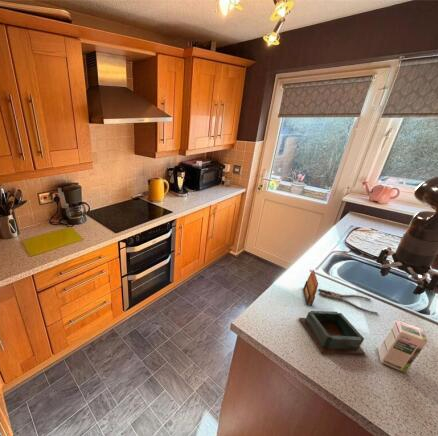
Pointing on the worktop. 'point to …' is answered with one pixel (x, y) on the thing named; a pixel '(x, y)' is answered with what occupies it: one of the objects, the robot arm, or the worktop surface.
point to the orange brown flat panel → (310, 288)
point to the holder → (332, 333)
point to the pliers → (338, 297)
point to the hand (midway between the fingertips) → (399, 283)
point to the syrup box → (402, 345)
